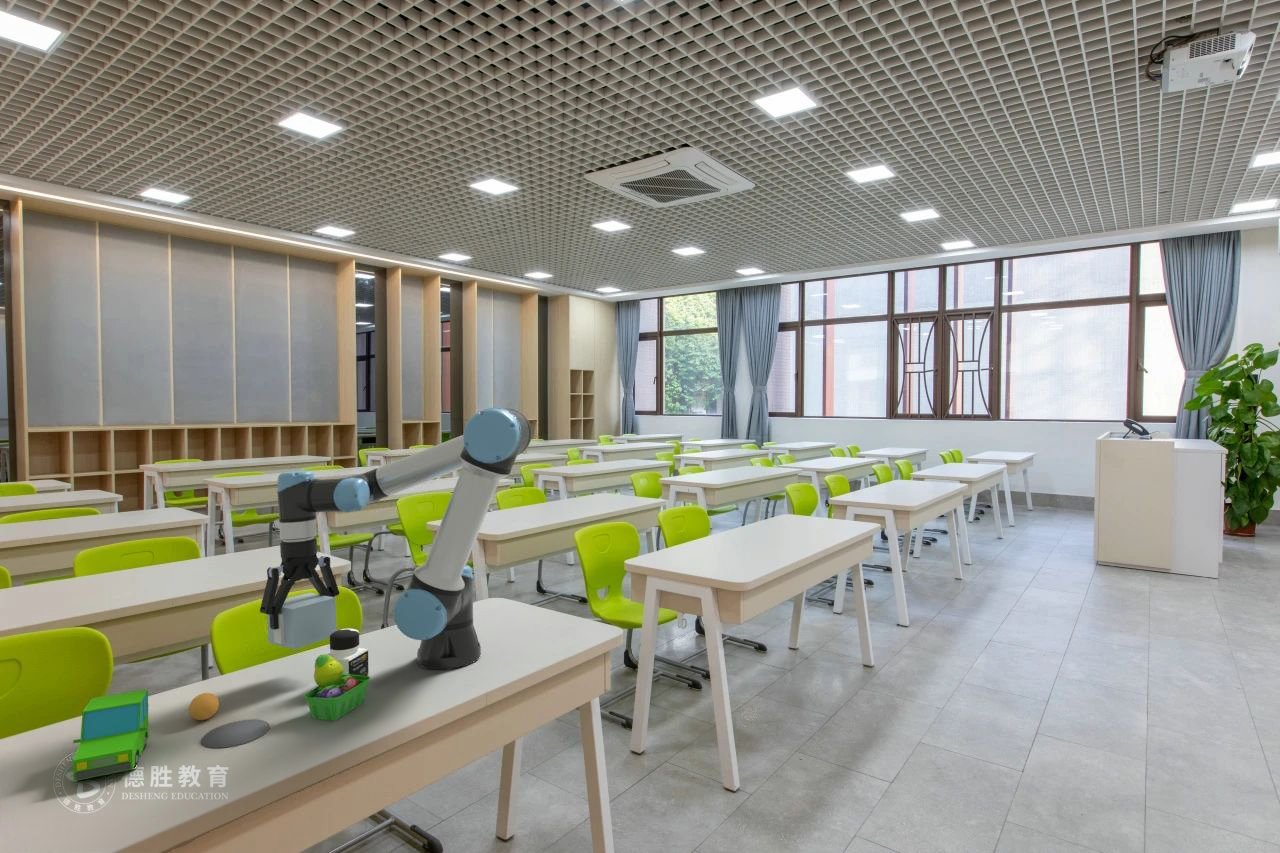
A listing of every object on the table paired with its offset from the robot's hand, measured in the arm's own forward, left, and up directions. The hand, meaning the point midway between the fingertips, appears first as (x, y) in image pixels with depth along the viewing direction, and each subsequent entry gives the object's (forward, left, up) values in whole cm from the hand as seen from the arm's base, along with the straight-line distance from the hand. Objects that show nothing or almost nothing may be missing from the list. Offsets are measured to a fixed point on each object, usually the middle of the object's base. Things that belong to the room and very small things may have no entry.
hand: (302, 635), depth 153 cm
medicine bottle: (-11, -3, -10) cm, 16 cm away
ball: (-2, +22, -7) cm, 24 cm away
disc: (-14, +22, -10) cm, 28 cm away
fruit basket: (-21, +6, -10) cm, 25 cm away
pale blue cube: (0, 0, -1) cm, 1 cm away
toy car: (-7, +39, -10) cm, 41 cm away
